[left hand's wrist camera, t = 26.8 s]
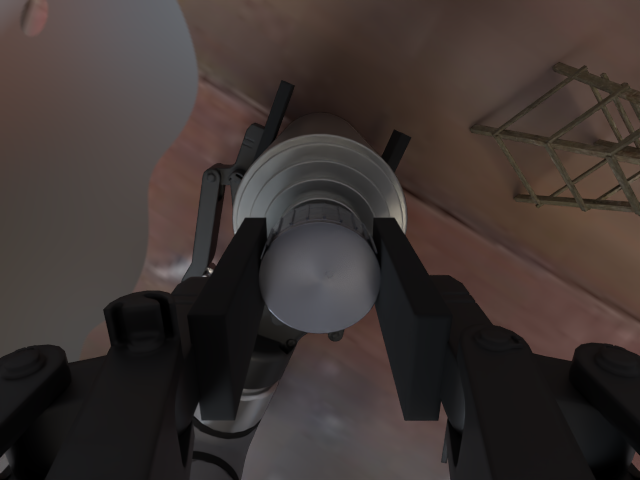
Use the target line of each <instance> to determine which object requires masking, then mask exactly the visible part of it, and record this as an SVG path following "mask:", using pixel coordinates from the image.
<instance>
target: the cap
mask: <svg viewBox="0 0 640 480" xmlns="http://www.w3.org/2000/svg"><path fill="white" fill-rule="evenodd" d="M376 254H378V251H377V249H376V246H375V243H374V240H373V238H372V235H369V233H368V231H367V229H366V226H365V223H364V222H363V223H362V222H361V221H360V220H359V219H358V218H357V217H356V216H355V215H354V213H353V212H352V213H350V212H349V211H347V210H345V209H343V208H341V206H334V205H330V204H325V203H323V204H307V205H305V206H302V207H299V208H296V209H295V208H294V209H292V211H291V212H289V213H288V214H286V215H285V216H284V217H283V218H282V217H281V218H280V220H279V222H278V223H277V224H276V225H275V227H274V229H273V228H272V229H271V231H270V234H269V236H268V239H267V241H266V244H265V247H264V249H263V252H262V255H261V258H260V261H261V262H260V266H259V285H260V293H261V296H262V298H263V300H264V302H265V304H266V306H267V307H268V309H269V310H270V311H271V312H272V313H273V315H274V316H276V317H277V318H278V319H279V320H280V321H282V322H283V323H285V324H286V325H288V326H290V327H292V328H294V329H297V330H300V331H304V332H308V333H331V332H336V331H340V330H343V329H345V328H348V327H350V326H352V325H353V324H355V323H357V322H358V321H359V320H361V319H362V318H363V317H364V316H365V315H366V314H367V313H368V312H369V311H370V309H371V308H372V307H373V305H374V303H375V302H376V300H377V298H378V295H379V292H380V281H381V267H380V263H379V260H378V257H377V255H376Z"/></svg>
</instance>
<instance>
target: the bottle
mask: <svg viewBox="0 0 640 480" xmlns="http://www.w3.org/2000/svg"><path fill="white" fill-rule="evenodd" d="M323 203H325V204H330V205H334V206H341V208H343V209H345V210H347V211H349V212H350V213H352V212H353V213H354V215H355V216H356V217H357V218H358V219H359V220H360V221H361V222H362V223H363V222H364V223H365V226H366V229H367V231H368V233H369V235H372V236H373V217H395V219H396V221H397V222H398V224H399V226H400V227H401V229H402V231H403V232H404V234H406V230H407V205H406V200H405V196H404V193H403V190H402V187H401V185H400V183H399V181H398V179H397V177H396V175H395V173H394V172H393V171H392V169H391V168H390V166H389V165H388V164H387V163H386V162H385V161H384V160H383V159H382V158H381V157H380V156H379V154H378V153H377V152H376V151H375V150H374V149H373V148H372V147H371V146H370V145H369V144H368V143H367V142H366V141H365V140H364V138H363V137H362V136H361V135H360V134H359V133H358V132H357V131H356V130H355V129H354V128H353V127H352V126H351V125H350V124H349V123H348V122H347V121H345V120H344V119H342V118H340V117H338V116H336V115H333V114H329V113H311V114H307V115H304V116H302V117H299V118H298V119H296V120H294V121H293V122H292V123H291V124H290V125H289V126H288V127H287V128H286V129H285V130H284V131H283V132H282V133H281V134H280V135H279V136H278V137H277V138H276V139H275V140H274V142H273V143H272V144H271V145H270V146H269V147H268V148H267V149H266V150H265V151H264V152H263V153H262V154H261V155H260V156H259V157H258V159H257V160H256V161H255V162H254V163H253V164H252V165H251V166H250V168H249V169H248V170H247V172H246V173H245V175H244V176H243V178H242V180H241V182H240V184H239V186H238V189H237V192H236V195H235V199H234V204H233V214H232V220H233V230H234V235H235V234H236V232H237V230H238V229H239V227H240V225H241V224H242V222H243V220H244V218H245V217H266V221H267V239H268V236H269V234H270V231H271V229H272V228H273V229H274V227H275V225H276V224H277V223H278V222H279V220H280V218H281V217H282V218H283V217H284V216H285V215H286V214H288V213H289V212H291V211H292V209H294V208H295V209H296V208H299V207H302V206H305V205H307V204H323Z"/></svg>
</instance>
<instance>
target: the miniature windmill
mask: <svg viewBox="0 0 640 480" xmlns="http://www.w3.org/2000/svg"><path fill="white" fill-rule="evenodd" d="M552 68H553V70H554V71H555V72H558V73H560V74H563V75H565V76H568V78H566V79H565V80H564V81H562V82H561V83H560V84H558V85H557V86H556V87H554V88H553V89H551V90H550V91H549V92H547V93H546V94H545V95H543V96H542V97H540V98H539V99H538V100H536V101H535V102H534V103H532V104H531V105H530V106H528V107H527V108H525V109H524V110H523V111H521V112H520V113H519V114H517V115H516V116H514V117H513V118H512V119H510V120H509V121H508V122H506V123H505V124H504V125H502V126H501V127H499V128H492V127H487V126H481V125H474V126H473V127H471V128H470V130H471V132H472V133H477V134H482V135H487V136H492V137H494V138H495V140H496V141H497V143H498V144H499V146H500V148H501V149H502V151H503V153H504V154H505V156H506V157H507V159H508V161H509V162H510V164H511V165H512V167H513V169H514V170H515V172H516V173H517V175H518V177H519V178H520V180H521V181H522V183H523V185H524V186H525V188H526V189H527V191H528V193H529V194H530V195H524V194H519V195H517V196H516V197H515V198H514V199H515V201H516V202H527V203H535V204H537V205H535V206H536V207H537V208H539V207H541V206H542V205H544V204H549V205H559V206H570V207H580V208H581V210H582V211H585V212H586V211H588V210H590V209H591V208H592V209H602V210H613V211H624V212H635V214H637V215H639V216H640V203H639V202H638V200H637V198H636V196H635V194H634V192H633V190H632V188H631V186H630V185H629V184H630V183H632V182H633V181H635V180H637V179H638V178H640V171H639V172H638V173H636V174H634V175H633V176H631V177H630V178H628V179H626V177H625V175H624V173H623V171H622V169H621V167H620V166H619V164H618V162H617V161H621V162H626V163H632V164H637V165H640V141H639V139H638V138H640V129H638V130H637V131H634V129H633V127H632V125H631V123H630V121H629V119H628V117H627V115H626V113H625V111H624V109H623V107H622V105H621V103H620V101H619V99H618V97H621V98H623V99H626V100H628V101H629V102H630V104H631V106H632V108H633V110H634V111H635V113H636V115H637V117H638V119H639V121H640V107H639V105H640V92H639V91H637V90H634V89H631V88H630V86H629V85H628V83H623V84H621V85H620V84H617V83H615V82H612V81H610V80H609V78H608V76H607V74H606V73H602V74H601V75H600V76H601V77H598V76H596V75H593V74H590V73H589V72H588V70H587V69H588V68H587V66H585V65H584V66H583V67H581V68H580V69H577V68H574V67H571V66H568V65H566V64H563V63H560V62H559V63H557V64H556V65H555V66H553V67H552ZM573 79H575V80H578V81H580V82H583V83H585V84H588V85H590V87H591V89H592V91H593V93H594V95H595V97H596V99H597V101H598V104H596V105H595V106H593V107H592V108H591V109H589V110H588V111H586V112H585V113H583V114H582V115H581V116H579V117H578V118H576V119H575V120H574V121H572V122H571V123H569V124H568V125H566V126H565V127H564V128H562V129H561V130H559V131H558V132H556V133H555V134H554V135H552V136H551V137H544V136H538V135H532V134H526V133H521V132H515V131H509V130H504V129H506V128H507V127H508V126H510V125H511V124H513V123H514V122H515V121H517V120H518V119H519V118H521V117H522V116H524V115H525V114H526V113H528V112H529V111H530V110H532V109H533V108H535V107H536V106H537V105H539V104H540V103H541V102H543V101H544V100H545V99H547V98H548V97H550V96H551V95H552V94H554V93H555V92H556V91H558V90H559V89H561V88H562V87H563V86H565V85H566V84H567V83H569V82H570V81H572V80H573ZM597 88H598V89H600V90H603V91H605V92H608V93H610V95H609V96H608V97H606V98H605V99H603V100H602V98H601V96H600V94H599V92H598V90H597ZM612 100H613V101H614V103H615V105H616V107H617V109H618V111H619V113H620V115H621V117H622V119H623V121H624V123H625V125H626V127H627V129H628V131H629V133H630V135H629V136H628V137H626V138H625V139H622V137H621V135H620V133H619V131H618V129H617V127H616V125H615V123H614V121H613V119H612V117H611V115H610V113H609V111H608V109H607V107H606V105H607V104H608V103H609V102H611V101H612ZM599 109H602V111H603V113H604V114H605V116H606V118H607V120H608V122H609V124H610V126H611V128H612V130H613V132H614V134H615V136H616V138H617V140H618V142H619V143H614V142H609V141H605V140H598V141H597V142H595V143H594V145H589V144H583V143H578V142H572V141H566V140H561V139H558V138H559V137H561V136H562V135H564V134H565V133H566V132H568V131H569V130H571V129H572V128H574V127H575V126H576V125H578V124H579V123H581V122H582V121H584V120H585V119H586V118H588V117H589V116H591V115H592V114H594V113H595V112H596V111H598V110H599ZM501 138H503V139H508V140H513V141H518V142H523V143H528V144H534V145H539V146H544V147H545V148H546V150H547V152H548V154H549V155H550V157H551V159H552V160H553V162H554V164H555V166H556V167H557V169H558V171H559V172H560V174H561V176H562V178H563V179H564V181H565V183H566V184H567V185H565V186H564V187H562V188H561V189H559V190H558V191H556V192H555V193H553V194H552V195H550V196H538V195H535V193H534V191H533V190H532V188H531V187H530V185H529V183H528V182H527V180H526V178H525V177H524V175H523V174H522V172H521V170H520V169H519V167H518V166H517V164H516V162H515V161H514V159H513V157H512V156H511V154H510V153H509V151H508V149H507V148H506V146H505V144H504V143H503V141H502V140H501ZM633 141H634V143H635V145H636V147H637V148H635V147H631V146H627V145H629V144H630V143H632V142H633ZM553 148H554V149H559V150H564V151H570V152H575V153H580V154H585V155H590V156H595V157H601V158H605V159H604V160H602V161H601V162H599V163H598V164H596V165H595V166H593V167H592V168H590V169H589V170H587V171H586V172H584V173H583V174H581V175H580V176H578V177H577V178H575V179H574V180H573V181H572V180H571V179H570V177H569V175H568V174H567V172H566V170H565V168H564V167H563V165H562V163H561V161H560V160H559V158H558V156H557V154H556V153H555V151H554V149H553ZM607 162H608V163H609V165H610V167H611V169H612V171H613V173H614V175H615V177H616V178H617V180H618V182H619V185H617V186H616V187H614V188H613V189H611V190H610V191H608V192H607V193H605V194H604V195H602V196H600V197H599V198H597V199H582V198H581V196H580V194H579V193H578V191H577V189H576V187H575V186H574V184H575V183H577V182H578V181H580V180H581V179H583V178H584V177H586V176H587V175H589V174H590V173H592V172H593V171H595V170H596V169H598V168H599V167H601V166H603V165H604V164H606V163H607ZM568 188H569V190H570V191H571V193H572V195H573V196H574V198H567V197H556V196H557V195H559V194H560V193H562V192H563V191H565V190H566V189H568ZM621 189H622V190H623V191H624V193H625V195H626V197H627V199H628V201H629V202H625V201H610V200H605V199H607V198H609V197H610V196H612V195H613V194H615V193H616V192H618V191H619V190H621Z"/></svg>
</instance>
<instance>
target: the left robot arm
mask: <svg viewBox="0 0 640 480" xmlns="http://www.w3.org/2000/svg"><path fill="white" fill-rule="evenodd" d="M372 238H373V240H374V243H375V246H376V249H377V251H378V254H376V255H377V257H378V260H379V263H380V267H381V281H380V292H379V295H378V298H377V300H376V302H375V307H376V311H377V315H378V319H379V323H380V327H381V331H382V334H383V338H384V342H385V346H386V350H387V354H388V358H389V362H390V366H391V369H392V373H393V377H394V381H395V385H396V389H397V393H398V397H399V401H400V404H401V408H402V412H403V416H404V420H405V421H438V419H439V412H440V405H441V401H442V404H443V407H444V409H445V412H446V414H447V417H448V419H447V426H446V433H445V440H444V446H443V453H442V460H441V462H442V463H447V458H448V463H449V471H450V479H451V480H640V471H639V470H638V469H637V468H636V467H635V466H634V465H633V464H632V463H631V462H632V459H633V457H634V454H635V451H636V452H637V453H638V454H639V455H640V356H639V355H637V354H635V353H632V352H630V351H628V350H626V349H624V348H622V347H619V346H613V345H611V344H602V343H587V344H581V345H580V346H579V347H577V348H576V349H575V352H574V356H573V359H572V361H568V360H562V359H557V358H552V357H547V356H542V355H538V354H534V353H532V351H531V349H530V347H529V345H528V344H527V343H526V341H525V340H524V339H523V338H522V337H520V336H519V335H517V334H516V333H514V332H513V331H510V330H508V329H505V328H503V327H500V326H495V325H493V324H492V323H491V322H490V320H489V319H488V318H487V316H486V315H485V313H484V312H483V311H482V309H481V308H480V307H479V305H478V304H477V303H475V300H474V299H473V297H472V296H471V295H469V292H468V291H467V289H466V288H465V287H464V285H463V284H462V283H461V282H459V281H457V280H456V279H454V278H453V277H451V276H449V275H429V274H428V273H427V271H426V269H425V268H424V266H423V264H422V263H421V261H420V259H419V258H418V256H417V254H416V253H415V251H414V249H413V248H412V246H411V244H410V242H409V241H408V239H407V237H406V236H405V234H404V232H403V231H402V229H401V227H400V226H399V224H398V222H397V221H396V219H395V217H373V236H372ZM266 241H267V221H266V217H245V218H244V220H243V222H242V224H241V225H240V227H239V229H238V230H237V232H236V234H235V235H234V237H233V239H232V240H231V242H230V244H229V245H228V247H227V249H226V250H225V252H224V254H223V255H222V257H221V259H220V261H219V262H218V264H217V266H216V267H215V269H214V271H213V272H212V274H211V276H210V277H189V278H188V279H186V280H185V281H183V282H181V283H180V284H178V285H177V286H176V288H175V289H174V291H173V292H172V293H171V294H170V293H167V292H163V291H142V292H136V293H132V294H129V295H126V296H123V297H120V298H118V299H116V300H115V301H113V302H111V303H109V305H107V306H106V307H105V308H104V310H103V311H104V315H105V320H106V324H107V329H108V333H109V338H110V342H111V347H110V349H109V351H108V353H107V355H105V356H101V357H97V358H92V359H87V360H82V361H77V362H71V363H68V361H67V357H66V353H65V351H64V350H63V349H62V348H60V347H59V346H54V345H38V346H36V345H34V346H29V347H27V348H21V349H18V350H16V351H15V352H12V353H10V354H8V355H5V356H3V357H1V358H0V458H1V457H2V456H3V455H4V454H5V455H6V458H7V460H8V463H9V465H8V466H7V467H6V468H5V469H4V470H3V471H2V472H1V473H0V480H190V472H191V464H192V456H193V448H194V440H195V433H194V426H193V419H192V418H193V416H194V413H195V410H196V408H197V405H198V403H199V407H200V414H201V421H235V419H236V415H237V411H238V407H239V403H240V400H241V396H242V392H243V388H244V384H245V380H246V376H247V372H248V368H249V365H250V361H251V357H252V353H253V349H254V345H255V341H256V337H257V333H258V330H259V326H260V322H261V318H262V314H263V310H264V306H265V302H264V300H263V298H262V296H261V293H260V285H259V266H260V262H261V261H260V258H261V255H262V252H263V249H264V247H265V244H266Z"/></svg>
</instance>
